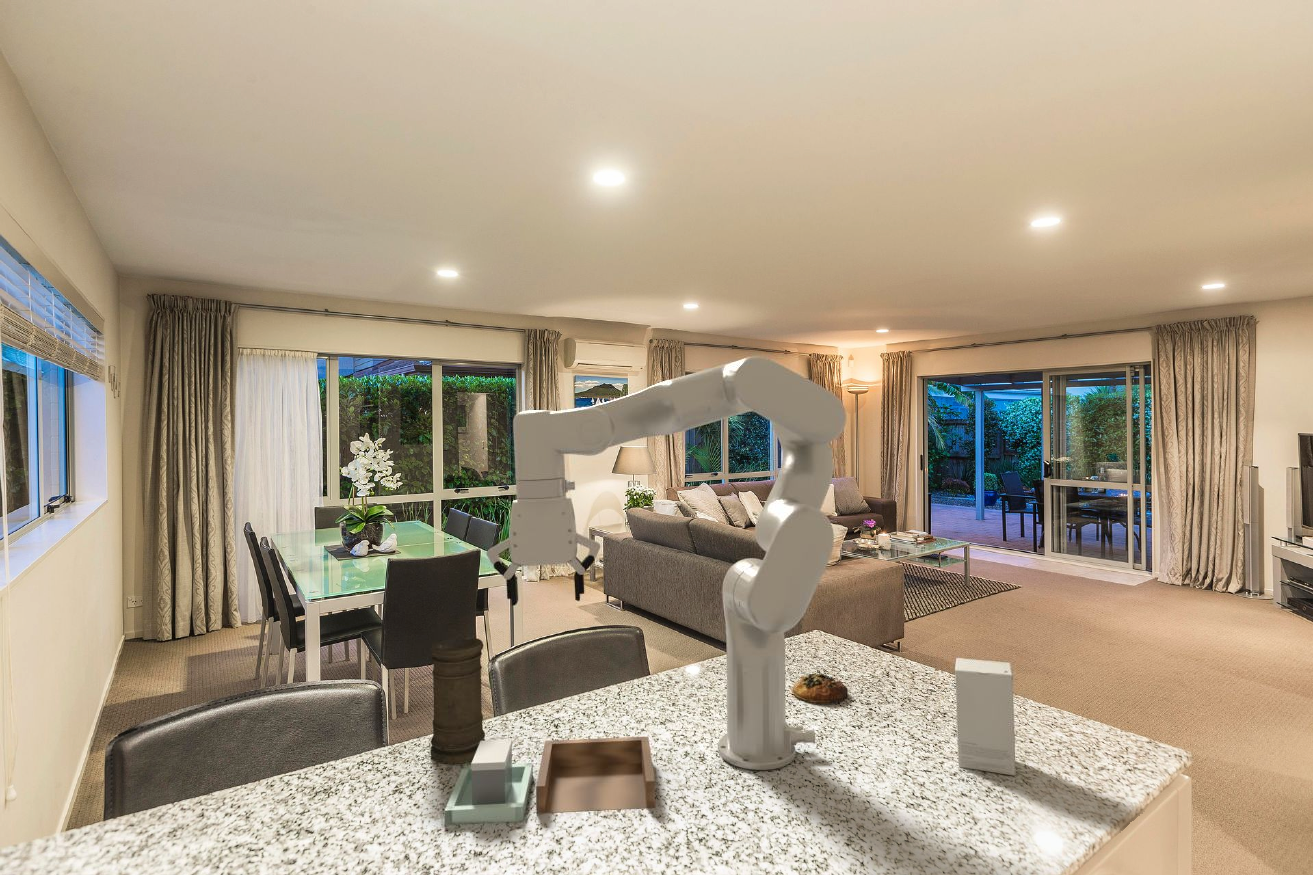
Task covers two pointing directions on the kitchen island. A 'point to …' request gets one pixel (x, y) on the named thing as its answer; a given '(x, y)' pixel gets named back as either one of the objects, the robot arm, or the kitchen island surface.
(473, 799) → the off-white upright block
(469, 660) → the container
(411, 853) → the kitchen island surface
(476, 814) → the tray
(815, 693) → the bread roll
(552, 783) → the bay
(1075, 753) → the kitchen island surface
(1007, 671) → the skincare box
